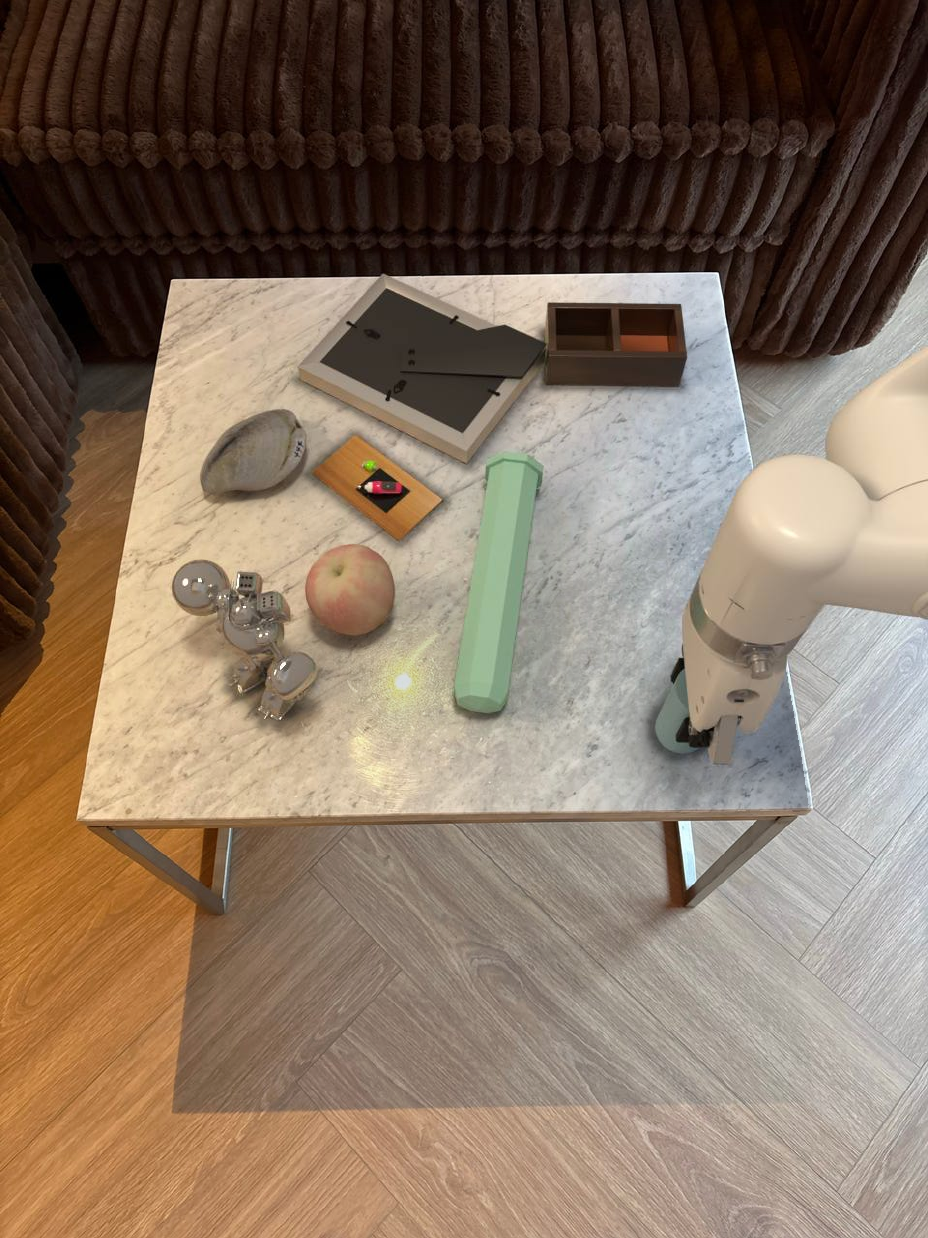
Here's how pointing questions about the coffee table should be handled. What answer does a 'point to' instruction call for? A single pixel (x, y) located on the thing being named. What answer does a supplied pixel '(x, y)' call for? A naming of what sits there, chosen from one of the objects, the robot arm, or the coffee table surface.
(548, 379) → the holder
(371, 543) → the coffee table surface
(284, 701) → the robot toy
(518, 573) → the container
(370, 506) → the board
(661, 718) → the bottle
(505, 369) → the picture frame
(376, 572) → the apple
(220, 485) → the seashell
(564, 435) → the coffee table surface
